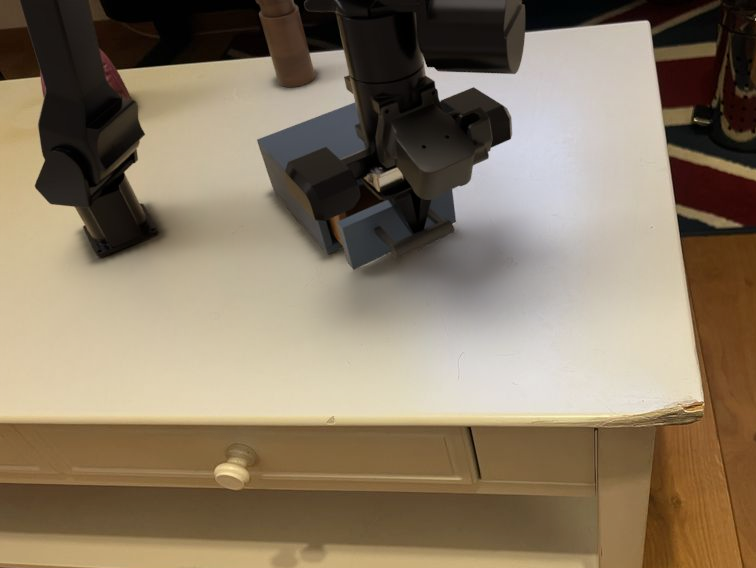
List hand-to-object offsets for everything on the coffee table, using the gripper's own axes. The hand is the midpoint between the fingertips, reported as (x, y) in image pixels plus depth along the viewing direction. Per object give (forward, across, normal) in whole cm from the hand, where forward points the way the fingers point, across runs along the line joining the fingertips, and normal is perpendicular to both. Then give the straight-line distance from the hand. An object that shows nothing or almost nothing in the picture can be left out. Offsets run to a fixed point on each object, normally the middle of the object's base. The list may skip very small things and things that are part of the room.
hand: (416, 233), depth 66 cm
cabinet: (+4, 0, +14) cm, 15 cm away
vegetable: (+4, -18, +55) cm, 58 cm away
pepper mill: (+4, +7, +45) cm, 46 cm away
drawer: (+3, 0, +6) cm, 7 cm away
